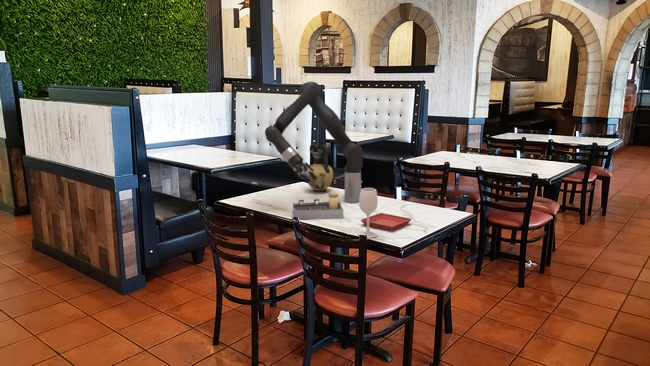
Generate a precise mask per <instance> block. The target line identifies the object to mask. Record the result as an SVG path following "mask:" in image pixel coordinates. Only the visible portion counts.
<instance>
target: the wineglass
mask: <svg viewBox="0 0 650 366" xmlns="http://www.w3.org/2000/svg"><path fill="white" fill-rule="evenodd" d="M358 203H359V204H358V206H359V209H360V210H361V212H362V213H364V214H365V215H366V218H367V226H366V230H365V231H361V232H359V233H358V235H357V236H359V235H367V239H372V238H376V237H378V234H377V232H374V231H370V227H369V217H370V216H371V214H373V213H374V212H376V209H377V208H378V191H377V189H375V188H373V187H364V188H361V192H360V197H359V202H358Z"/></svg>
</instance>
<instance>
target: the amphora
mask: <svg viewBox="0 0 650 366" xmlns="http://www.w3.org/2000/svg"><path fill="white" fill-rule="evenodd" d="M309 165H310V166H311V168H312V169H313V170H314V171H313V173H314V174H315V175H316V177H317V179H316V180H313V179H312V177H311V176H310V175H309V174H306V173H305V176H307V177H308V178H309V179H310V182H309V183H307V184H308V186H309V187H310V188H311V189H312V193H315V194H323V193H327V192H328V188H329V187H330V186H331V184H332V181H333V180H334V170H333V167H331V166H330V165H329V147H328V146H327V145H326V144H322V145H320V147H319V148H318V145H317V144H316V143H311V144H310V146H309ZM310 170H311V169H310Z"/></svg>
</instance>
